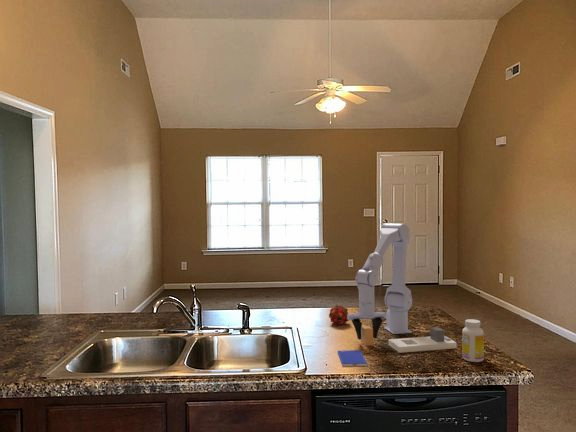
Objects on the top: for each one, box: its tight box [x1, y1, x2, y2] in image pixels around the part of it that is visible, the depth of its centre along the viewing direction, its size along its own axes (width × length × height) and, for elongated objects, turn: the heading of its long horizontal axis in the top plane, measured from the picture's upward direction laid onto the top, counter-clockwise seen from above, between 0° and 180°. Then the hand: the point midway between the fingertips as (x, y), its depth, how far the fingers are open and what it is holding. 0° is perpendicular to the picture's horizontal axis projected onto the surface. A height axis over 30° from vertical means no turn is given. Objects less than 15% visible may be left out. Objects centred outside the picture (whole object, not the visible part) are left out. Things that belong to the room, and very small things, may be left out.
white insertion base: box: [388, 326, 458, 354], centre depth 164 cm, size 9×22×6 cm, turn 101°
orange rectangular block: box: [360, 325, 374, 346], centre depth 169 cm, size 4×3×6 cm, turn 11°
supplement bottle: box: [461, 318, 485, 363], centre depth 150 cm, size 7×7×13 cm
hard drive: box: [336, 349, 368, 367], centre depth 152 cm, size 2×8×12 cm
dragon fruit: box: [328, 304, 350, 327], centre depth 196 cm, size 8×8×12 cm
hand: (367, 338), depth 169 cm, fingers open, 5 cm apart
